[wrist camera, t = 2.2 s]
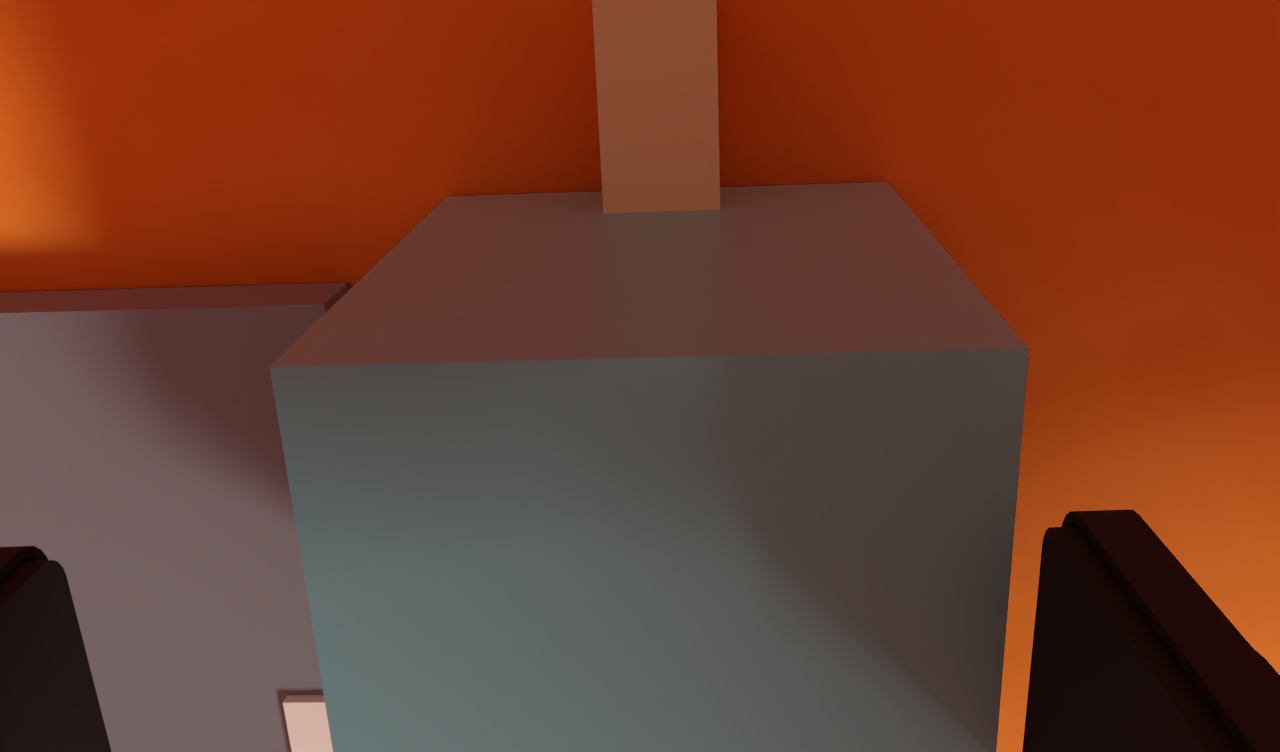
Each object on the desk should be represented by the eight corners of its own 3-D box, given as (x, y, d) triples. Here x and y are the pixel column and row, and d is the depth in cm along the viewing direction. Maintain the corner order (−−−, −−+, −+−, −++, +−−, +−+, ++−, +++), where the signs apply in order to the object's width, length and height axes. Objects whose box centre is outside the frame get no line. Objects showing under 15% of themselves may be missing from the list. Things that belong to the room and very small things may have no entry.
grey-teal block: (426, -6, 16) (212, 24, 9) (894, -27, 16) (1057, -11, 9) (499, 718, 20) (395, 1125, 13) (869, 716, 20) (964, 1135, 13)
